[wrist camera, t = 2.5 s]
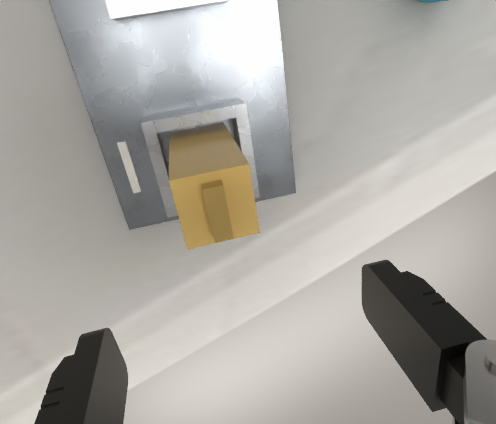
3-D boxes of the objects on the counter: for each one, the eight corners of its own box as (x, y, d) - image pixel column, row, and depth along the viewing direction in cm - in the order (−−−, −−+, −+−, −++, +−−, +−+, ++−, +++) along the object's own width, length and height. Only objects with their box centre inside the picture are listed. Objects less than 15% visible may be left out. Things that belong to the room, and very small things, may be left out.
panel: (253, -198, 20) (268, -241, 17) (292, 188, 31) (305, 204, 28) (-6, -171, 19) (-41, -213, 16) (130, 223, 30) (126, 245, 27)
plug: (223, 122, 27) (252, 169, 17) (232, 172, 28) (263, 239, 19) (169, 132, 26) (168, 186, 17) (182, 182, 28) (188, 257, 18)
